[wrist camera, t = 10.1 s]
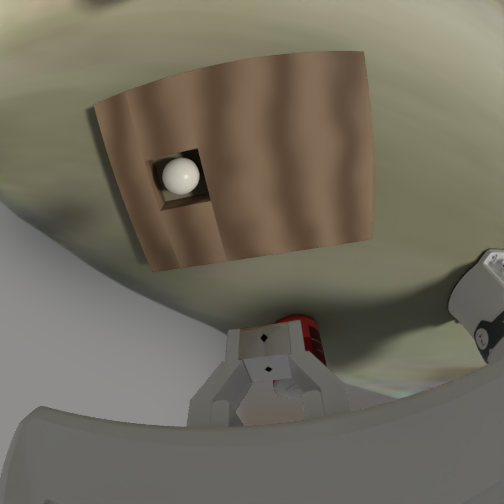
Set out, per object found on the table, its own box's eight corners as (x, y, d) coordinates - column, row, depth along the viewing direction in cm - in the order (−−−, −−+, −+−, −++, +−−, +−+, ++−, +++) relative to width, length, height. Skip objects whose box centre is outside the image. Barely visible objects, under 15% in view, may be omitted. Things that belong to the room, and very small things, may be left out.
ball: (201, 150, 29) (178, 163, 26) (210, 184, 31) (188, 200, 28) (174, 154, 30) (150, 167, 28) (183, 186, 33) (161, 201, 30)
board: (355, 53, 23) (363, 51, 21) (365, 229, 35) (372, 239, 33) (103, 102, 26) (93, 104, 24) (157, 260, 38) (152, 272, 36)
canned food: (261, 336, 46) (263, 393, 37) (288, 306, 42) (296, 367, 33) (298, 348, 48) (305, 402, 39) (326, 321, 45) (340, 378, 35)
